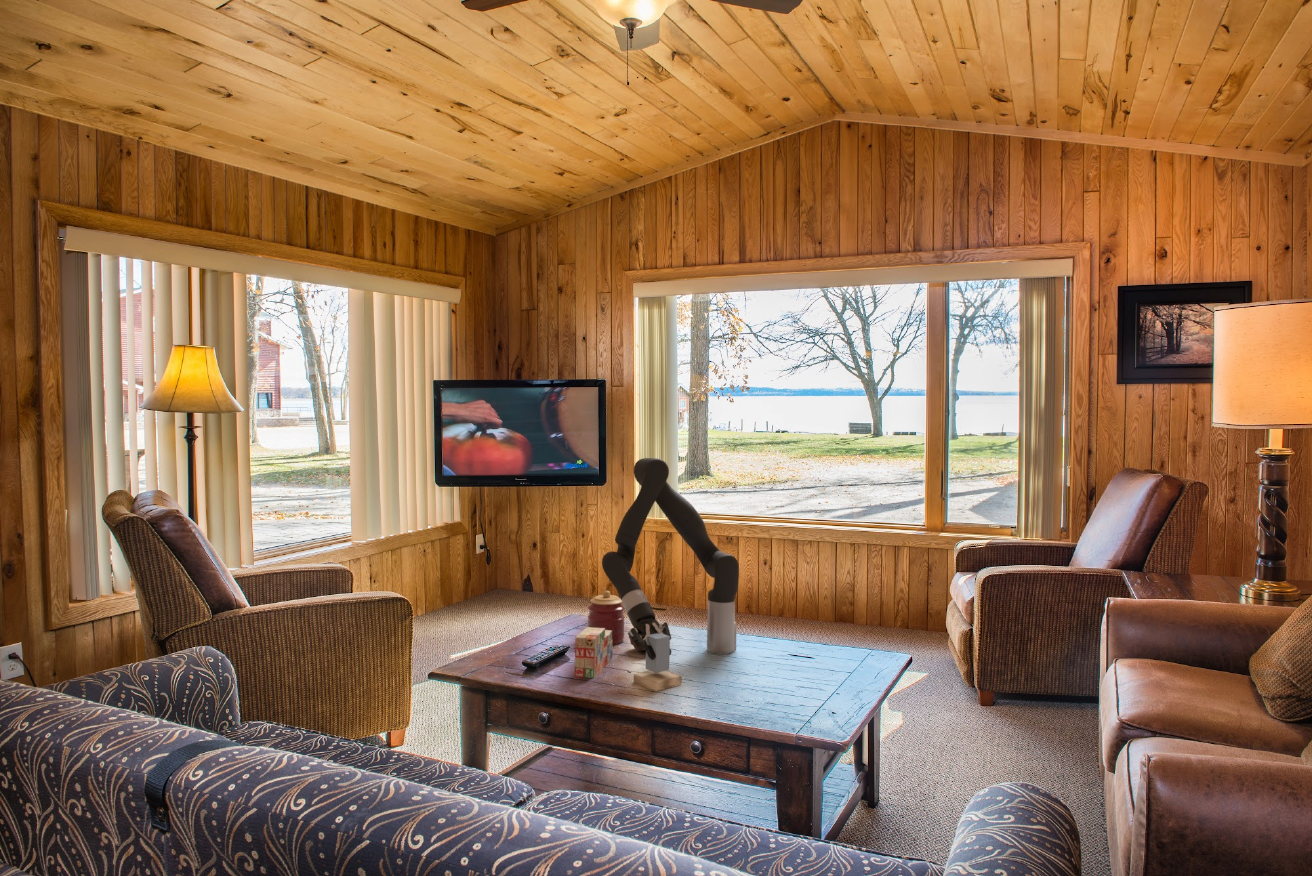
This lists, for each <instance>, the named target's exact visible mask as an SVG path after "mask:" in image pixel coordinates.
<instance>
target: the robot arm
mask: <svg viewBox="0 0 1312 876" xmlns="http://www.w3.org/2000/svg"><path fill="white" fill-rule="evenodd" d="M633 475H634V478H635V481H636V482H637V483H638V484H639V485H640V489H639V492H638V495H637V496H636V498H635V500H634V502H633V503H632V504H631V506H630V507H629V508H628V509H627V511H626V512H625V514H624V516H623V518H622V519H621V522H620V524H619V526H618V529H617V532H616V535H615V538H614V541H615V543H616V545H617V550H616V551H612V550H611V551H607V552H606V553H605V554H604V555H603V557H602V559H601V566H602V570H603V572H604V574H605V575H606V576H607V578H608V580H609V581H610V583H611V584H612V585H613V586H614V588H615V589H616V591H617V593H618V594H617V595H618V597H619V598H620V599H621V600H622V603H621V604H622V605H623V606H624V611H625V613H626V615H627V618H629V621H630V624H631V625H632V628H630V630H629V631H628V632H627V634H628V635H627V636H628V637H629V636H630V638H631V639H632V640H633V642H634V643H635V644H636V646H637V647H638V648H639V649H641V648H644V649H645V650H646V651H645V653H646V652H647V654H648V656H649V658H651V660H654V659H655V658H656V654H655V652H654V650H653V648H652V646H650V641H649V639H648V638H649V637H648V636H650V634H655V633H659V634H661V633H662V634H665V635H667V636H670V641H671V640H672V636H671V632H670V627H669V625H668V623H667V622H666V621H665V622H663V623H659V621H658V620H657V618H656V614H655V612H654V610H653V608H652V606H651V603H650V602H649V600H648V598H647V596H646V595H645V593H644V592H643V590H642V588H641V586H640V583H639V581H638V580H637V579H636V577H635V576H633V575H632V574H631V573H630V571H632V569H633V566H634V561H635V555H636V547H637V543H638V541H639V539H640V535H641V533H642V530H643V527H644V525H645V523H646V520H647V518H648V516H649V514H650V512H651V510H652V508H653V506H654V504H655V503H656V505H658V507H659V509H660V510H661V511H662V513H663V514H664V515H665V517H666V518H667V520H668V521H669V523H670V524H671V525H672V526H673V527H674V529H675V531H676V532H677V534H679V535H680V536H681V539H683V540H684V542H685V543H686V544H687V546H688V547H689V548H690V549H691V550H692V551H693V552H694V555H695V556H696V557H697V559H698V560H699V562H700V564H701V566H702V567H703V569H704V570H705V572H706V574H708V575H709V576H710V577H711V578H713V579H714V580H713V582H714V583H713V588H712V589H709V590H708V593H707V614H706V615H707V616H706V617H707V619H706V620H707V624H706V625H707V626H706V651H708V652H709V653H712V654H716V655H717V654H718V655H720V654H721V655H726V654H732V653H734V651H737V629H738V627H737V626H738V624H737V621H735V620H736V619H735V618H736V616H735V615H736V595H737V593H738V589H739V575H740V567H739V562H738V559H737V558H736V557H735V556H734V555H733V554H729V553H727V552H723V551H722V550H721V549H719V547H718V546H716V544H714V542H713V541H712V540H711V538H710V537H709V534H708V532H707V531H708V530H707V527H706V524H705V522H704V519H703V518H702V517H701V515H700V514H699V511H697V510H696V508H695V507H694V506H693V505H692V504H691V502H689V501H688V500H687V499H686V498H685V497H683V496H682V495H681V494H680V493H679V492H678V491H677V490H675V489H674V488H673V487H672V486H671V485H670V483H668V478H669V475H670V469H669V466H668V464H667V463H666V461H665V460H663V459H661V458H658V457H657V458H656V457H655V458H653V457H645V458H639V460H637V461H636V462H635V465H634V466H633ZM634 627H635V628H634ZM659 628H660V629H659ZM639 634H640V635H641V637H640V635H639ZM630 638H629V639H630ZM638 641H639V642H640V643H639V642H638ZM671 654H672V649H671V648H670V656H672V655H671Z"/></svg>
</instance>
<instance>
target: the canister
mask: <svg viewBox="0 0 1312 876" xmlns="http://www.w3.org/2000/svg"><path fill="white" fill-rule="evenodd" d="M589 601H590V604H589V605H588V606H587V610H588V615H587V627H592V628H605V630H611V631H612V646H614V645H618V643H619V644H621V643H623V642H624V639H625V618H626V616H625V615H624V611H625V609H624V606H623V603H622V600H621V598H620V596H619V595H618V596H617V595H613V594H611V591H609V590H604V591H603V592H602V594H600V595H595V596H594V597H593V598H591V599H590V600H589Z"/></svg>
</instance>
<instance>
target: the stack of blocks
mask: <svg viewBox="0 0 1312 876" xmlns="http://www.w3.org/2000/svg"><path fill="white" fill-rule="evenodd" d="M574 643H575V647H574V678H575V677H577V678H585V679H586V678H588V679H595V678H596V677H597V676H598V675H599V674H600V673H601V671H603V669H604V668H605V666H606V665H608V664H609V662H610V661H612V659H613V645H612V631H611V630H605V628H592V627H588V626H587V627H585V628H584V629H583V630H582V631H580V633H579V634H578V635H576V636H575V642H574Z"/></svg>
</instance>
